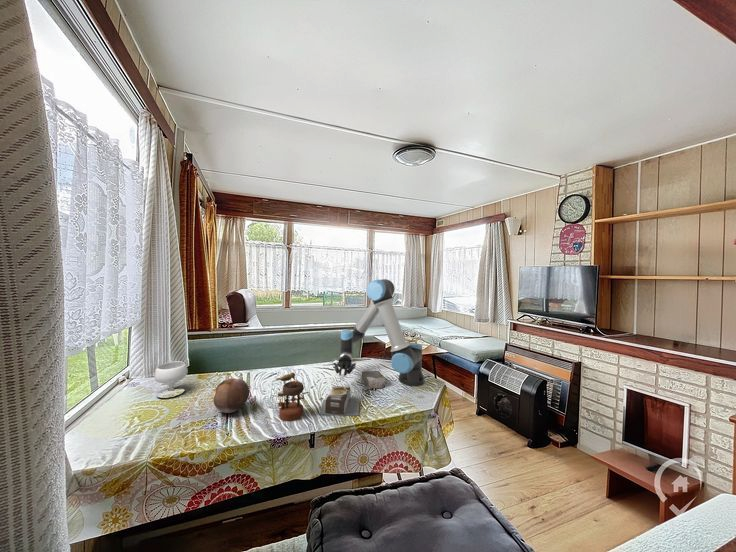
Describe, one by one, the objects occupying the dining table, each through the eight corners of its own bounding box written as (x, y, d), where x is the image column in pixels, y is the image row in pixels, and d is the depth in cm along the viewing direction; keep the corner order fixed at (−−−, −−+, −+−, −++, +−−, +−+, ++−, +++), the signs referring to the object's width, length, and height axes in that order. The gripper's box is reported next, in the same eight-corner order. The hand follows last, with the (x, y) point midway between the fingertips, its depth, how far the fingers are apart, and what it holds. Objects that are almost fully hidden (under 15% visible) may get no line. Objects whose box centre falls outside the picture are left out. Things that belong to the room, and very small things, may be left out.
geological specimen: (377, 369, 172) (387, 377, 158) (377, 379, 172) (386, 388, 157) (361, 370, 169) (369, 379, 154) (361, 380, 168) (368, 390, 154)
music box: (278, 425, 117) (278, 377, 118) (273, 415, 127) (273, 371, 128) (313, 416, 125) (312, 371, 126) (305, 407, 134) (305, 365, 135)
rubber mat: (359, 401, 140) (359, 400, 140) (358, 416, 126) (358, 414, 126) (323, 400, 140) (323, 399, 140) (319, 415, 126) (319, 413, 126)
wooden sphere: (252, 401, 137) (252, 372, 136) (244, 418, 122) (244, 384, 121) (219, 403, 134) (220, 373, 133) (207, 420, 119) (207, 386, 119)
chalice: (155, 403, 132) (155, 372, 132) (153, 392, 143) (153, 364, 142) (189, 395, 142) (189, 366, 141) (185, 385, 152) (185, 358, 152)
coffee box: (350, 386, 142) (345, 401, 126) (350, 398, 142) (344, 415, 126) (333, 384, 143) (325, 399, 126) (332, 397, 143) (324, 413, 127)
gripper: (356, 367, 163) (354, 384, 140) (334, 366, 163) (329, 383, 139) (356, 354, 163) (355, 369, 139) (334, 354, 163) (329, 369, 139)
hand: (342, 376), depth 139 cm, fingers closed
